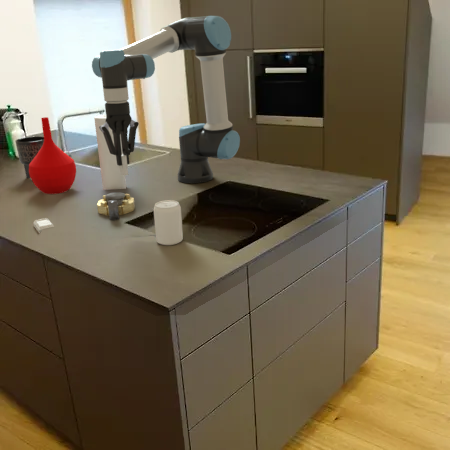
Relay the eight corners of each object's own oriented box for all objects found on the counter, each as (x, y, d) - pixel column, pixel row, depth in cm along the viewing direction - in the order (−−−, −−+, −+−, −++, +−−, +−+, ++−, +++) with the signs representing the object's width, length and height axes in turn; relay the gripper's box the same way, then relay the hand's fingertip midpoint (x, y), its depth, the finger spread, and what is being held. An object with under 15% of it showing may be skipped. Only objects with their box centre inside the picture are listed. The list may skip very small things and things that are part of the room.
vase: (60, 182, 226) (49, 113, 215) (88, 188, 216) (78, 115, 205) (23, 193, 212) (10, 119, 201) (51, 200, 202) (39, 123, 191)
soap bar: (40, 235, 168) (38, 227, 167) (34, 227, 175) (32, 219, 174) (55, 232, 170) (54, 224, 169) (49, 224, 178) (47, 216, 177)
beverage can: (156, 237, 162) (153, 200, 158) (182, 235, 163) (180, 198, 158) (155, 247, 155) (152, 209, 150) (183, 245, 155) (180, 207, 151)
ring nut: (100, 205, 189) (98, 189, 187) (135, 202, 190) (133, 187, 188) (95, 221, 173) (93, 204, 171) (132, 218, 174) (131, 201, 172)
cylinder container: (121, 192, 209) (112, 116, 198) (99, 191, 211) (89, 117, 200) (129, 185, 217) (122, 113, 207) (108, 185, 219) (100, 113, 209)
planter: (15, 181, 230) (8, 141, 224) (36, 173, 241) (29, 135, 235) (39, 183, 226) (32, 142, 219) (58, 175, 237) (52, 136, 230)
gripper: (130, 98, 170) (136, 168, 178) (92, 102, 162) (101, 175, 171) (140, 100, 164) (147, 173, 172) (102, 104, 157) (110, 180, 165)
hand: (124, 174), depth 171 cm, fingers closed
